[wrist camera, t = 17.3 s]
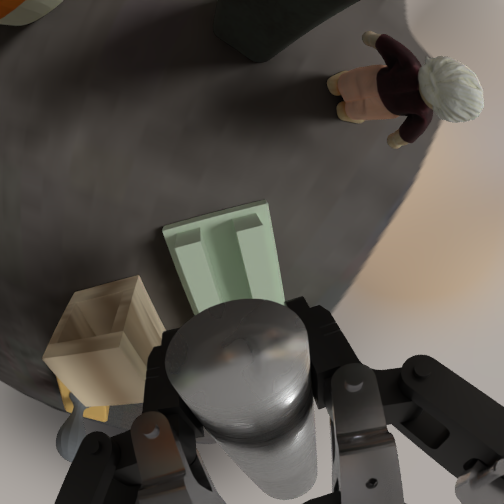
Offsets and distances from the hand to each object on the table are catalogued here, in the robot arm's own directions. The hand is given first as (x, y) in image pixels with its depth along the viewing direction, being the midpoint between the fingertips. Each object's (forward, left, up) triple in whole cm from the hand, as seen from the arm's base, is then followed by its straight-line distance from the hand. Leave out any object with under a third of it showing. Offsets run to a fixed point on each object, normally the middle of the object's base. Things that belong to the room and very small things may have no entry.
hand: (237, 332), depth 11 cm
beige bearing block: (-11, -9, -12) cm, 19 cm away
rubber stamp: (-20, -14, -13) cm, 28 cm away
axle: (0, -5, +3) cm, 6 cm away
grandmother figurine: (+12, +8, -13) cm, 19 cm away
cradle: (0, -6, -12) cm, 14 cm away
